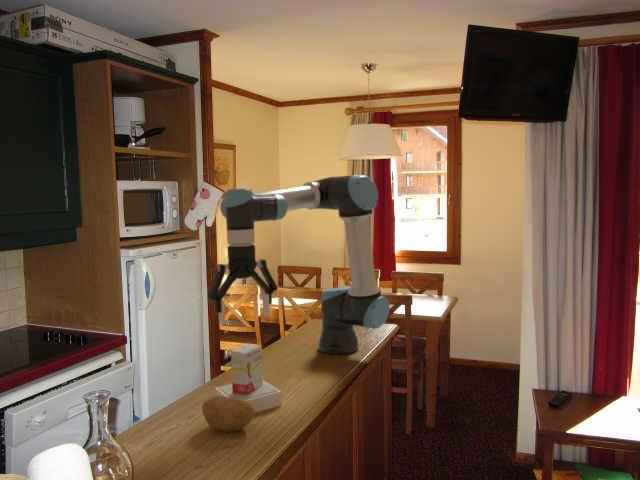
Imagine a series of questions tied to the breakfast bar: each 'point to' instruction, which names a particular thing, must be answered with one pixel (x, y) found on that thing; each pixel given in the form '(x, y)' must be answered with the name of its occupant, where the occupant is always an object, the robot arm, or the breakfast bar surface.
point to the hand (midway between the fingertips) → (244, 319)
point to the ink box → (246, 368)
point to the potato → (227, 413)
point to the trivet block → (254, 396)
